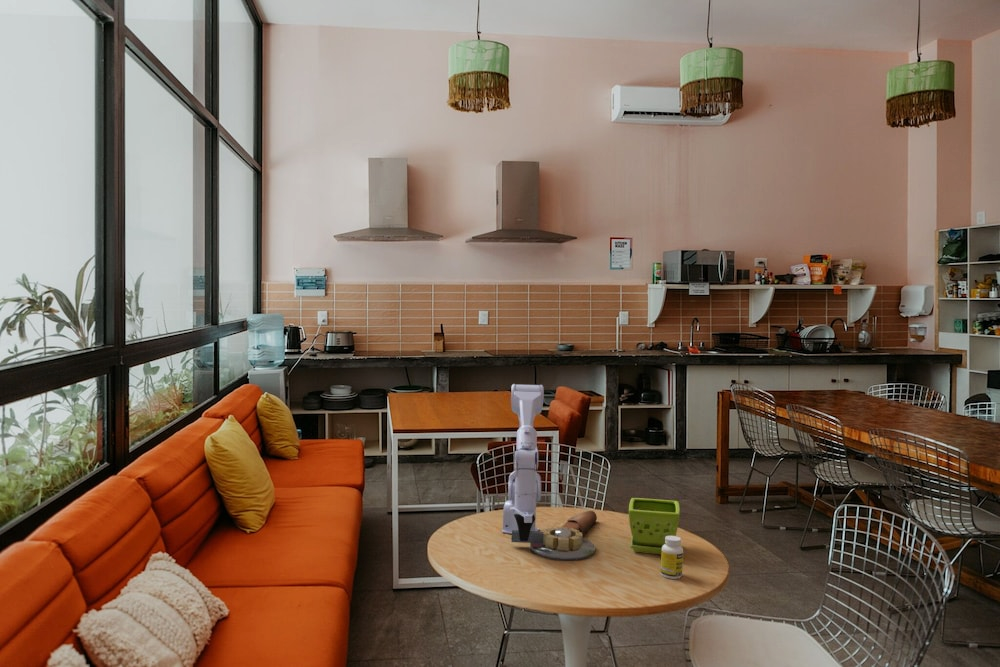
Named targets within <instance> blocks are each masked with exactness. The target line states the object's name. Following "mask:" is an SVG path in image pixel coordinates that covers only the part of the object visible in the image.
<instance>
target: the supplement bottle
mask: <svg viewBox="0 0 1000 667" xmlns="http://www.w3.org/2000/svg"><path fill="white" fill-rule="evenodd" d="M665 543H666V544H664V545H663V546H662V554H660V555H661V557H660V558H661V559H660V575H661V576H662V577H664V578H665V579H672V580H676V579H677V578H678V579H681V578H682V577H681V576H683V564H684V548H683V547H682V546H681V545H682V538H681V537H680V536H677V535H676V536H666V537H665ZM680 577H681V578H680ZM678 579H677V580H678Z"/></svg>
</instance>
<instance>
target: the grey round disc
mask: <svg viewBox="0 0 1000 667" xmlns="http://www.w3.org/2000/svg"><path fill="white" fill-rule="evenodd" d="M555 536H556V537H564V538H569V537H571V530H569V529H565V528H558V529H557V528H556V530H555ZM529 545H530V546H529V548H530V551H531V552H532V553H533V554H535V555H537V556H539V557H541V558H544V559H549V560H554V561H563V562H564V561H566V562H567V561H568V562H570V561H571V562H574V561H582V560H586V559H589V558H591V557H592V556H593V555H594V554H595V551H596V547H595V546H596V545H595V544H594V543H593V541H590V540H589V539H586V538H584V537H583V538H582V546H580V548H579V549H576V550H572V549H569V545H568V551H564V550H558V541H557V548H555V549H551V548H548V547H546V546H545V545H543V544H542V543H529Z"/></svg>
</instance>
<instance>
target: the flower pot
mask: <svg viewBox="0 0 1000 667" xmlns="http://www.w3.org/2000/svg"><path fill="white" fill-rule="evenodd" d="M628 504H629V505H628V522H629V528H630V531H631V541H630V547H631V549H632V550H633V551H634V552H635V553H645V554H653V555H661V554H662V546H663V545H664V544H666V543H665V537H666V536H677V532H678V527H679V522H680V515H681V514H680V513H681V508H680V507H681V506H680V503H679V501H677V500H667V499H656V498H655V499H654V498H642V497H641V498H640V497H631V499H630V500H629V503H628Z"/></svg>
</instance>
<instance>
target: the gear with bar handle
mask: <svg viewBox="0 0 1000 667" xmlns="http://www.w3.org/2000/svg"><path fill="white" fill-rule="evenodd" d="M558 528H565V529H567V527H562V526H557V527H549V528H545V530H543V531H540V530H539V531H530V534H529V538H528V541H520V538H519V532H518V530H512V534H511V539H510V540H511V543H523V544H530V543H542V544H543V545H545V546H546V547H548V548H551V549H555V548H557V541H558V550H564V551H568V545H569V549H572V550H576V549H579V548H580V546H582V538H584V535H582V532H580V531H579V530H576V529H573V528H571V529H569V530H571V537H569V538H564V537H556V536H555V530H556V529H558Z"/></svg>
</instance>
